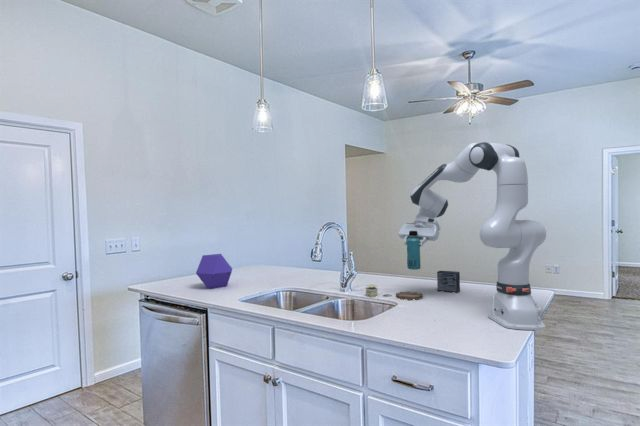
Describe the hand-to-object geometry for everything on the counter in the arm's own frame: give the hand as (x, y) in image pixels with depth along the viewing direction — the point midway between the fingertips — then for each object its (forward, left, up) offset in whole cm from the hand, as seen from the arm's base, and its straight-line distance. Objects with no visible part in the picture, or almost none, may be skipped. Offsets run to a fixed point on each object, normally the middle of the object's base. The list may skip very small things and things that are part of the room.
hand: (412, 244), depth 188 cm
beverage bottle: (+1, 0, -13) cm, 13 cm away
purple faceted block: (+20, +112, -27) cm, 117 cm away
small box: (+21, -20, -27) cm, 39 cm away
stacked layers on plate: (+5, +20, -27) cm, 34 cm away
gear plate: (+4, +2, -26) cm, 27 cm away
